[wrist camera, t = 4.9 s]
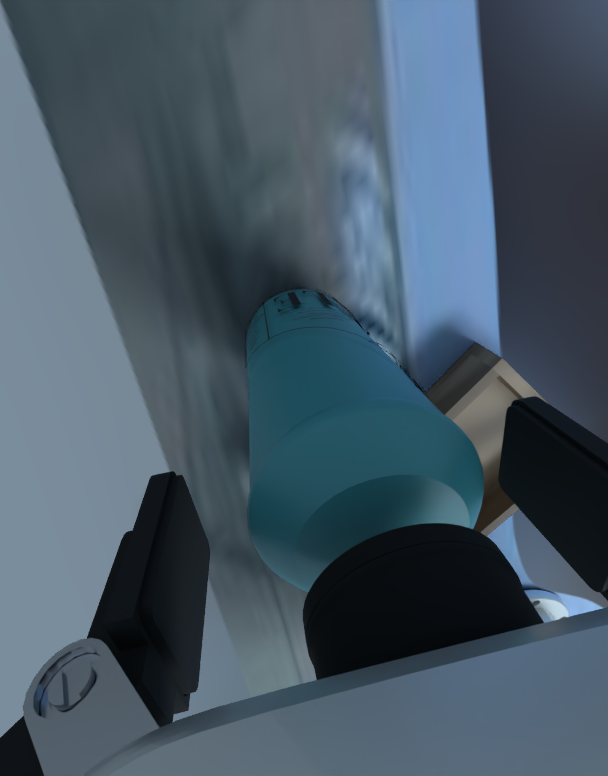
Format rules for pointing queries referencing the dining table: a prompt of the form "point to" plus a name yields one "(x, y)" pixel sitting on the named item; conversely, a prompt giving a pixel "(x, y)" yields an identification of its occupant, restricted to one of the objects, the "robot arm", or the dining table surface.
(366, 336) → the beverage bottle
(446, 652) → the robot arm
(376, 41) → the dining table surface
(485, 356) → the tray
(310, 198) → the dining table surface
